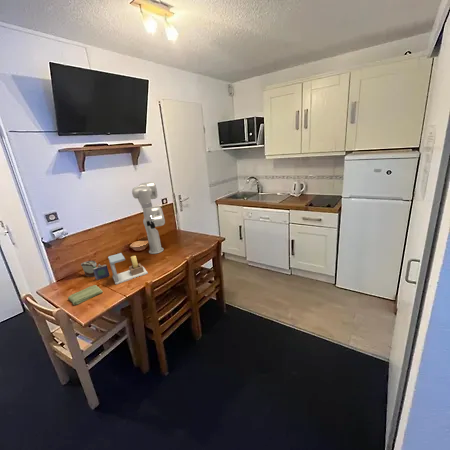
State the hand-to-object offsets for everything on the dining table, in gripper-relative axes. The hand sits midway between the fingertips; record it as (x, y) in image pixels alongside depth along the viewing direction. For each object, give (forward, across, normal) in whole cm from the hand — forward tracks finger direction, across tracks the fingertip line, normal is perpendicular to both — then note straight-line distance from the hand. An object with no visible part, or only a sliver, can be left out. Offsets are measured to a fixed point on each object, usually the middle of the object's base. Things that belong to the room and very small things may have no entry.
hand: (151, 227), depth 191 cm
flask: (+28, -1, -41) cm, 50 cm away
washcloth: (+29, +18, -53) cm, 63 cm away
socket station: (+28, +10, -24) cm, 38 cm away
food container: (+28, -13, -46) cm, 56 cm away
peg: (+27, +10, -19) cm, 35 cm away
